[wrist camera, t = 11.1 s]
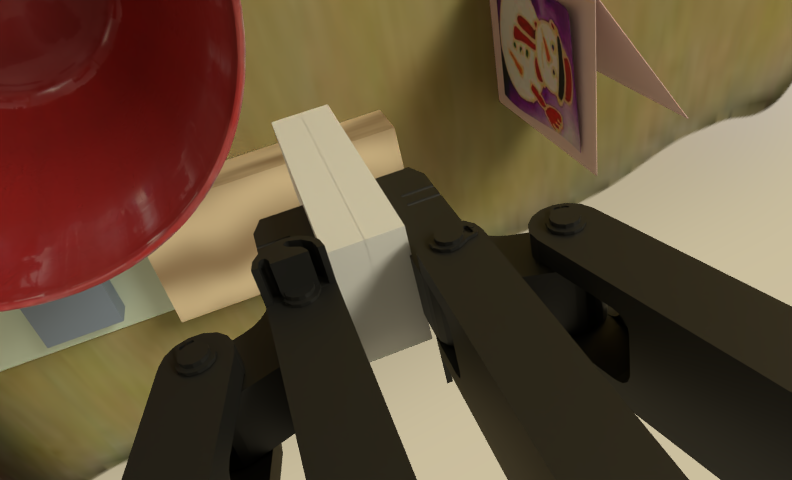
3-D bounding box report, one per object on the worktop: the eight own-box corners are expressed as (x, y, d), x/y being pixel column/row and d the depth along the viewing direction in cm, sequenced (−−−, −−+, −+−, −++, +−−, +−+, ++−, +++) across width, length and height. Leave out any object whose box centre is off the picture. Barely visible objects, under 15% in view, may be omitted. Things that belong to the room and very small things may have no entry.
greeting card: (474, -42, 49) (581, -2, 36) (566, -65, 50) (699, -35, 38) (489, 104, 55) (584, 179, 43) (570, 80, 56) (686, 147, 44)
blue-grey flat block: (74, 238, 48) (77, 225, 50) (-10, 267, 47) (-4, 253, 49) (124, 320, 52) (125, 306, 54) (47, 348, 52) (51, 332, 53)
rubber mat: (-107, 269, 48) (-109, 272, 47) (128, 192, 50) (128, 194, 49) (-21, 375, 54) (-22, 379, 53) (185, 302, 56) (185, 305, 56)
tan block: (128, 192, 50) (126, 216, 46) (379, 109, 52) (394, 127, 49) (180, 293, 55) (181, 322, 52) (405, 214, 58) (420, 237, 55)
